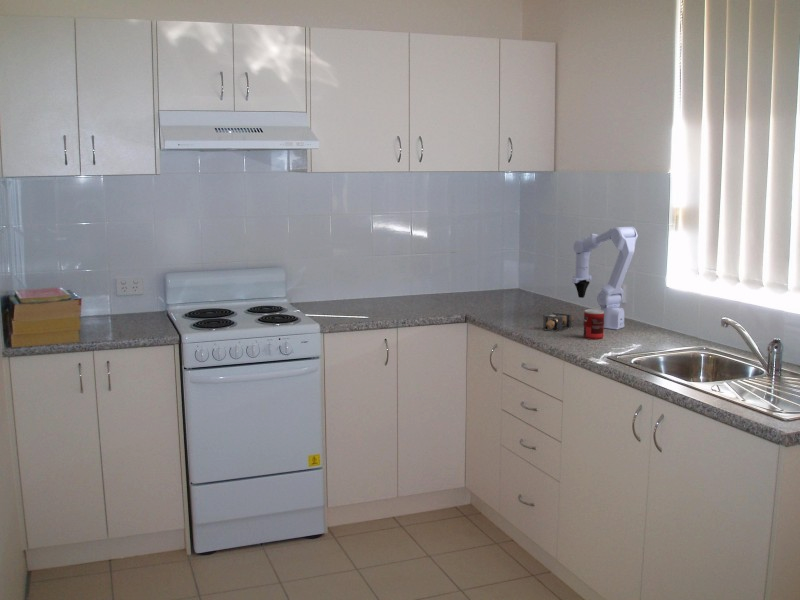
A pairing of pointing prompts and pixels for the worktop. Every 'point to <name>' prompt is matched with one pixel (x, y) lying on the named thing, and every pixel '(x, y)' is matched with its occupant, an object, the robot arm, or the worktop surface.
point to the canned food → (593, 324)
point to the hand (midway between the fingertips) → (581, 297)
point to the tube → (553, 322)
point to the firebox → (558, 321)
